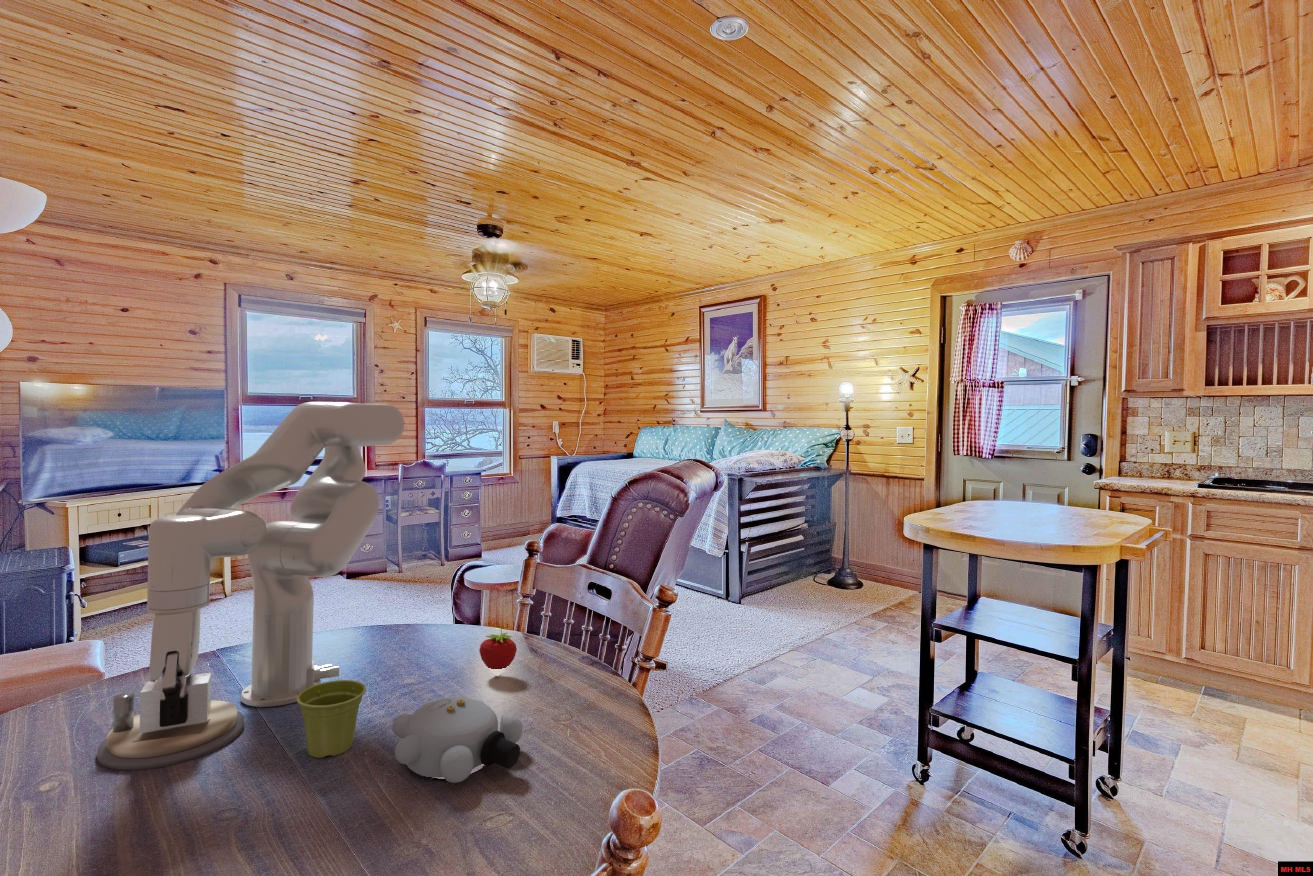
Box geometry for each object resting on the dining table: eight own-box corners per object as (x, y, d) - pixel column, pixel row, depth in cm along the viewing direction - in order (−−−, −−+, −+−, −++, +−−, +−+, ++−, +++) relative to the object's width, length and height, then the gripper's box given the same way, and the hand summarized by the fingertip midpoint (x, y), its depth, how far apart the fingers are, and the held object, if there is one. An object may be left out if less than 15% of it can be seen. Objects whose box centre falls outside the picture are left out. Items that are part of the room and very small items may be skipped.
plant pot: (378, 740, 97) (379, 685, 97) (328, 770, 88) (330, 710, 88) (332, 729, 100) (333, 676, 100) (280, 757, 92) (281, 699, 92)
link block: (146, 720, 94) (146, 680, 94) (210, 710, 98) (211, 671, 98) (139, 733, 90) (140, 692, 90) (206, 722, 94) (207, 682, 94)
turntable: (258, 723, 99) (259, 683, 99) (138, 769, 85) (139, 723, 85) (204, 700, 107) (205, 664, 107) (86, 740, 93) (87, 697, 93)
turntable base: (249, 699, 111) (249, 682, 111) (239, 751, 93) (239, 731, 93) (118, 720, 102) (119, 702, 102) (80, 782, 84) (80, 760, 84)
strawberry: (485, 669, 127) (486, 621, 127) (520, 672, 126) (521, 623, 126) (473, 680, 121) (474, 630, 121) (509, 683, 120) (511, 632, 120)
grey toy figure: (360, 769, 88) (468, 823, 80) (366, 711, 88) (475, 760, 80) (447, 719, 104) (545, 760, 96) (452, 670, 104) (551, 707, 96)
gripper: (159, 587, 99) (156, 700, 99) (134, 615, 84) (131, 748, 85) (216, 582, 103) (213, 691, 103) (201, 608, 88) (199, 735, 88)
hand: (176, 715), depth 94 cm, fingers open, 4 cm apart
